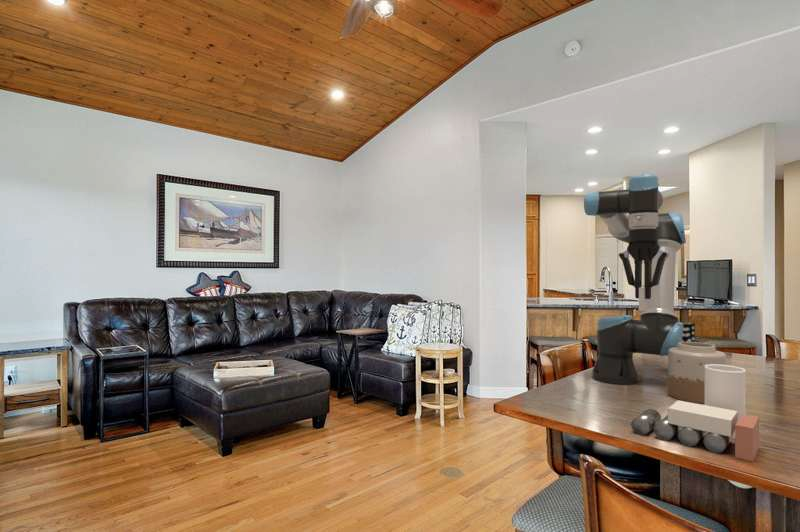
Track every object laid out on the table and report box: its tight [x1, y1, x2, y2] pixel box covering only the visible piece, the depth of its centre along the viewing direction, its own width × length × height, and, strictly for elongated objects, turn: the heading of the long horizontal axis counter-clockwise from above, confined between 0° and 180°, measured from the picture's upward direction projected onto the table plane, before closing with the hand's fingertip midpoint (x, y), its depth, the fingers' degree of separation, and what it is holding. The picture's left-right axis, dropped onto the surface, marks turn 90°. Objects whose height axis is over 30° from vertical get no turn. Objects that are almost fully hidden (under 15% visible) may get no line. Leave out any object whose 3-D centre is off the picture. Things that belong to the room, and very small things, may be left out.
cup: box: [704, 364, 747, 440], centre depth 111 cm, size 8×8×16 cm
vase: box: [667, 341, 727, 405], centre depth 141 cm, size 15×15×17 cm
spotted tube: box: [679, 321, 696, 342], centre depth 170 cm, size 8×8×20 cm
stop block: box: [734, 414, 760, 463], centre depth 99 cm, size 3×10×7 cm, turn 135°
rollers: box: [631, 408, 733, 454], centre depth 107 cm, size 19×10×4 cm, turn 46°
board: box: [667, 399, 738, 437], centre depth 104 cm, size 12×9×4 cm
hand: (643, 310), depth 130 cm, fingers closed
